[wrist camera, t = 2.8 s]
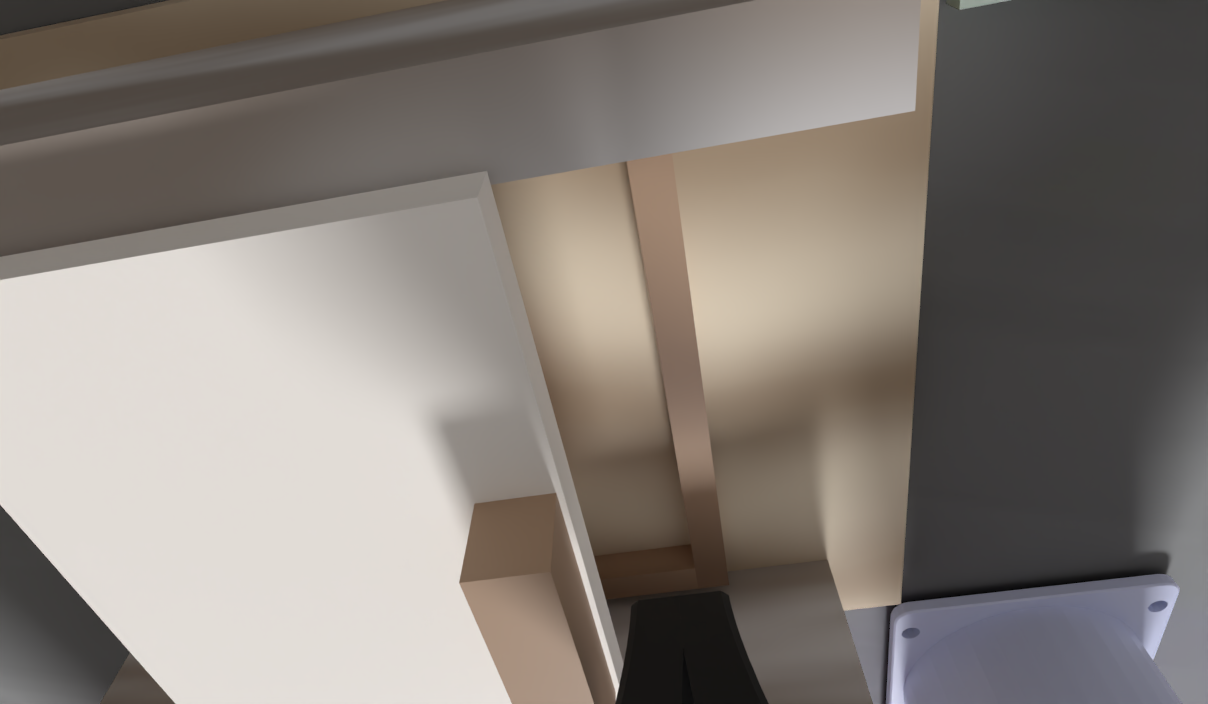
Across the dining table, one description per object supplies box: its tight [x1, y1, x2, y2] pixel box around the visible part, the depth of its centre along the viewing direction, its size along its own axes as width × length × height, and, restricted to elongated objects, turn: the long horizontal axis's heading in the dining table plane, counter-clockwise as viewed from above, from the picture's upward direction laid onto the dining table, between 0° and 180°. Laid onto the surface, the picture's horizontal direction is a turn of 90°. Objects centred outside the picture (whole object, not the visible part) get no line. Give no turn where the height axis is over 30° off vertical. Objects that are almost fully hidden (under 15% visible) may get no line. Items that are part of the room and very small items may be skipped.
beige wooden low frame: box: [0, 0, 939, 704], centre depth 16 cm, size 18×22×6 cm
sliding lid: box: [0, 171, 624, 704], centre depth 12 cm, size 14×8×2 cm, turn 10°
